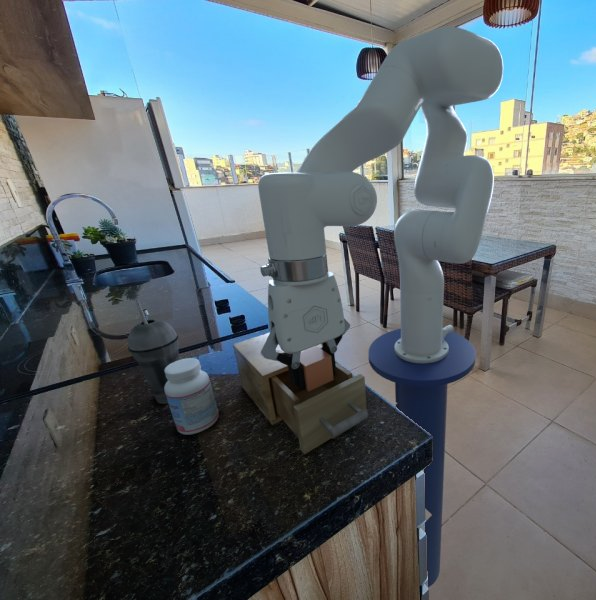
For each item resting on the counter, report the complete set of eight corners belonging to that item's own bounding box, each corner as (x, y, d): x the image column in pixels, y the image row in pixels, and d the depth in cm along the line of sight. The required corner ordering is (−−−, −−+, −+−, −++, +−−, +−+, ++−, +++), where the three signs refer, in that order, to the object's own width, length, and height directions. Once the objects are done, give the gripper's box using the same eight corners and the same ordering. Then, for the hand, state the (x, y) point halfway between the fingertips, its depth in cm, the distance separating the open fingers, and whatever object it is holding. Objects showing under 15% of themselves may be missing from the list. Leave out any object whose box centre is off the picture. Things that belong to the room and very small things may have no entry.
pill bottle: (176, 420, 54) (157, 363, 50) (216, 406, 58) (201, 351, 54) (179, 442, 50) (158, 381, 46) (222, 424, 53) (207, 366, 49)
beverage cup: (197, 381, 65) (171, 288, 58) (187, 403, 58) (157, 301, 51) (155, 388, 63) (123, 293, 56) (140, 412, 56) (101, 307, 49)
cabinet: (337, 392, 61) (332, 347, 57) (272, 425, 53) (262, 376, 49) (301, 363, 71) (295, 323, 67) (242, 387, 63) (232, 344, 59)
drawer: (383, 429, 50) (381, 388, 47) (319, 472, 43) (312, 426, 40) (325, 382, 62) (320, 347, 60) (267, 409, 55) (259, 371, 52)
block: (319, 369, 54) (316, 345, 52) (333, 379, 51) (331, 355, 49) (295, 379, 51) (291, 355, 49) (308, 391, 48) (305, 366, 46)
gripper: (247, 287, 36) (272, 416, 43) (364, 261, 47) (370, 368, 54) (226, 274, 42) (251, 391, 48) (337, 254, 52) (345, 352, 59)
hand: (314, 378), depth 51 cm, fingers closed on block, 4 cm apart
